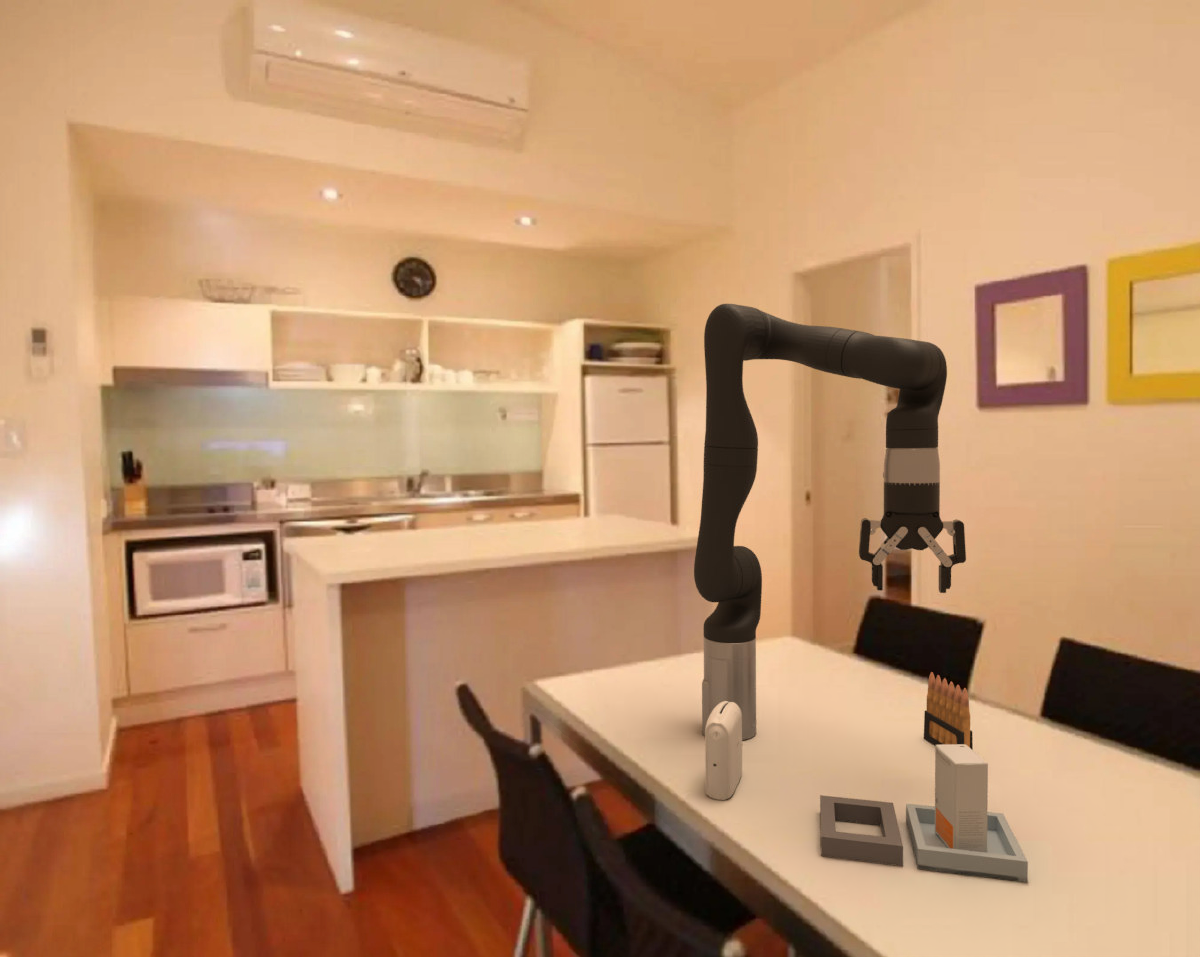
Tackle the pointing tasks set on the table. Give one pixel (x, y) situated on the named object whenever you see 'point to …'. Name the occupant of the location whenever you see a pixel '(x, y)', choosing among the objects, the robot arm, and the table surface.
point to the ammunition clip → (947, 714)
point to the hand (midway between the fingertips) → (910, 590)
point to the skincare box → (961, 797)
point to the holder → (860, 845)
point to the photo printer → (723, 750)
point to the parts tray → (936, 856)
